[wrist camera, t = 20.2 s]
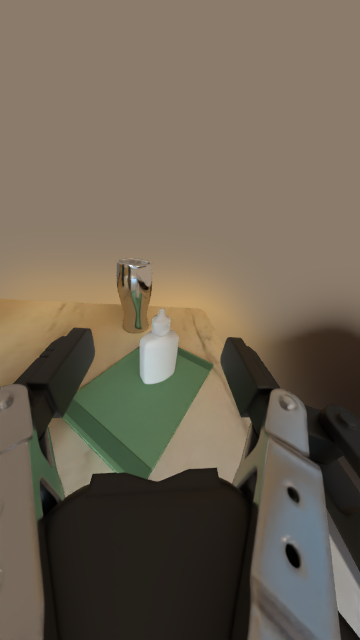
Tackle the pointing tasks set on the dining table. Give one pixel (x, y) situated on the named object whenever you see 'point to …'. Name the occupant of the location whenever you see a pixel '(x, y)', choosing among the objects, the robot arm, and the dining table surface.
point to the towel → (135, 411)
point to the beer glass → (134, 292)
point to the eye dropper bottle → (158, 350)
